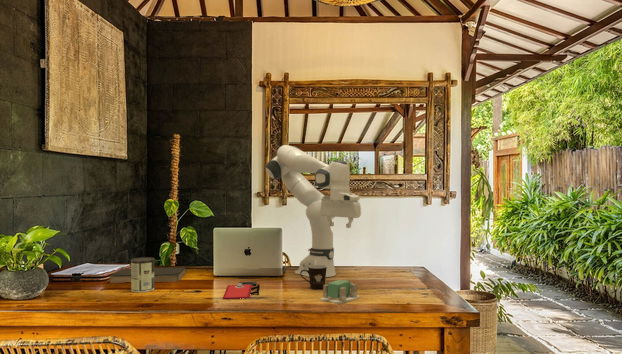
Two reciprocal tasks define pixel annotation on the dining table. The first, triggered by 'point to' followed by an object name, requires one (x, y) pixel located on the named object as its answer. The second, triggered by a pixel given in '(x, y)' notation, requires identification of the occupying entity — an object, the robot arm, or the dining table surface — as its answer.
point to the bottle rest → (343, 296)
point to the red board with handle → (241, 290)
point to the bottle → (338, 288)
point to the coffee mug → (316, 276)
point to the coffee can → (142, 274)
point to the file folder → (159, 275)
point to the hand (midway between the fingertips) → (339, 226)
